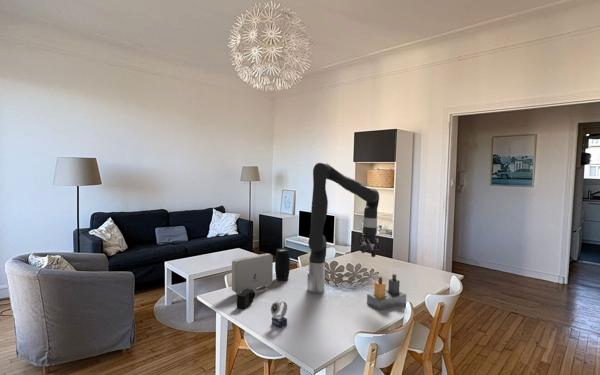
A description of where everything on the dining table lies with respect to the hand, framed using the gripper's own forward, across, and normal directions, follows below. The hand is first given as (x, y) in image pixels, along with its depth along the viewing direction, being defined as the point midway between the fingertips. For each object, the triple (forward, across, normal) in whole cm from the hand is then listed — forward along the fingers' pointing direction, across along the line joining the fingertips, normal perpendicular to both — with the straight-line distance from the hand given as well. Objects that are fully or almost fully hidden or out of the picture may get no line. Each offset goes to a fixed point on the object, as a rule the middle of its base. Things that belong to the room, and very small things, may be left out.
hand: (368, 254), depth 181 cm
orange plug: (+23, +10, +2) cm, 25 cm away
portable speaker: (+27, -49, -28) cm, 62 cm away
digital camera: (+27, -20, -62) cm, 71 cm away
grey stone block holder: (+25, +10, +6) cm, 27 cm away
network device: (+27, -39, -52) cm, 70 cm away
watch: (+26, +6, -56) cm, 62 cm away
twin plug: (+23, +10, +12) cm, 27 cm away
